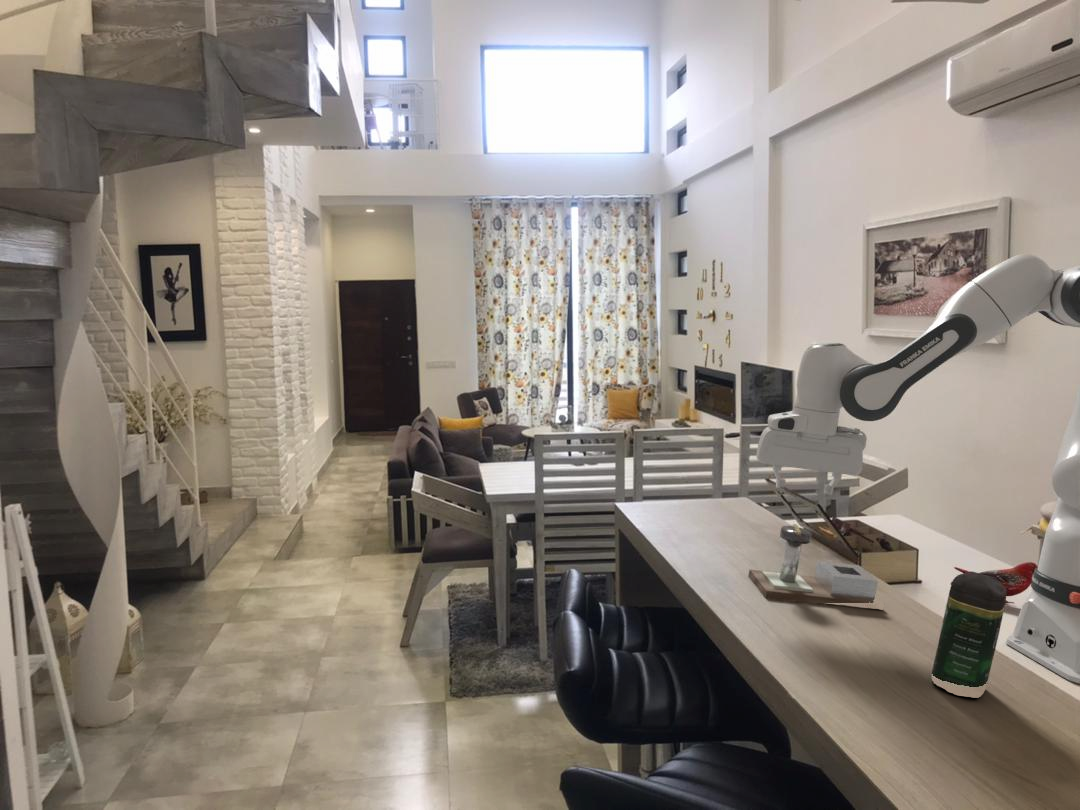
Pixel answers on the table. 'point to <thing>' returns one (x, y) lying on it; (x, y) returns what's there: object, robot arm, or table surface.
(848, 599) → the walnut board
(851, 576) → the grey socket block
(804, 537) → the peg
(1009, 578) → the decorative bird figurine
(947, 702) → the table surface
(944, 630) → the coffee jar
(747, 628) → the table surface
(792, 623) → the table surface
